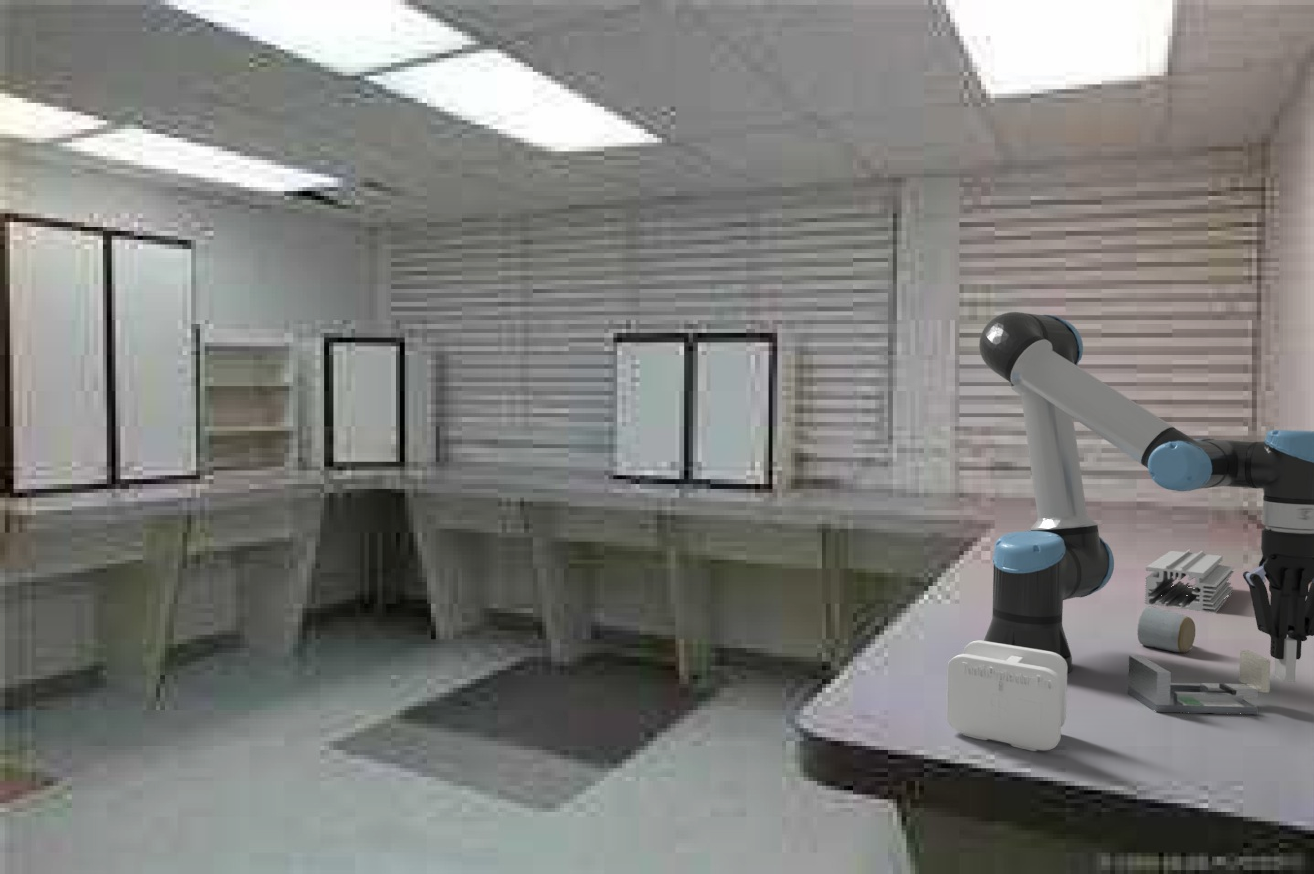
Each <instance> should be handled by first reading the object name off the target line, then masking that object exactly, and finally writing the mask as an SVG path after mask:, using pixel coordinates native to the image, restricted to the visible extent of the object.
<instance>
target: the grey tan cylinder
mask: <svg viewBox="0 0 1314 874" xmlns="http://www.w3.org/2000/svg"><path fill="white" fill-rule="evenodd" d="M1136 631H1137V633H1136V634H1137V639H1138V642H1139V644H1141V645H1143V646H1146V647H1150V648H1154V647H1155V648H1156V649H1160V650H1164V651H1165V650H1166V651H1169V652H1173V653H1179V654H1181V653H1182V654H1183V653H1188V651H1190V650H1191V648H1192V647H1193V644H1194V642H1195V638H1196V624H1195V622H1194V620H1193V618H1192V617H1190V616H1188V615H1184V614H1181V613H1178V612H1173V611H1169V610H1166V609H1162V608H1159V607H1153V606H1152V605H1148V606H1146V607H1144V609H1142V611H1141V613H1140V615H1139V619H1138V623H1137V630H1136ZM1155 648H1154V649H1155Z"/></svg>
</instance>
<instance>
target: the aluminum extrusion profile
mask: <svg viewBox="0 0 1314 874" xmlns="http://www.w3.org/2000/svg"><path fill="white" fill-rule="evenodd" d="M1190 551H1191V549H1187V550H1186V551H1176V550H1170V551H1168V552H1166V553H1165V554H1164V555H1161V556H1160V557H1159V558H1157V559H1156V560H1155V561H1153V562H1151V563H1150V564H1149V565H1147V566H1145V571H1147V572H1151V573H1150V574H1149V575H1147V576H1145V591H1144V592H1145V593H1144V597H1145V598H1144V599H1145V600H1144V604H1145V605H1148V606H1157V605H1158V606H1159V607H1164V606H1165V608H1171V607H1172V608H1173V609H1179V608H1180V609H1179V610H1186V609H1189V610H1188V611H1194V610H1195V611H1194V612H1201V613H1210V614H1216V613H1217V612H1218V611H1219V610H1220V608H1222V606H1223V605H1224V604H1223V603H1226V602H1227V600H1228V599H1227V597H1226V596H1227V595H1230V596H1231V595H1232V594H1233V593H1234V591H1233V589H1234V587H1233V586H1230V585H1232V583H1231V582H1228V581H1229V579H1230V578H1231V577H1232V575H1233V574H1234V572H1235V571H1234V568H1235V567H1234V566H1229V565H1223V564H1220V563H1221V562H1222V561H1223V556H1222V555H1217V554H1216V555H1215V554H1207V553H1205V552H1204V550H1200V551H1199V552H1190ZM1186 576H1188V578H1187V580H1188V581H1192V580H1193V579H1195V582H1194V585H1191V586H1192V588H1188V587H1187V586H1189V585H1190V582H1187V583H1186V584H1184V582H1182V581H1181V580H1183V579H1184V578H1185V577H1186ZM1177 579H1178V580H1179V581H1178V582H1176V583H1175V584H1174V582H1175V581H1176V580H1177ZM1173 584H1174V586H1172V585H1173ZM1171 586H1172V587H1171ZM1193 588H1195V589H1193ZM1230 591H1231V592H1230ZM1232 592H1233V593H1232ZM1231 593H1232V594H1231ZM1161 595H1162V596H1161ZM1186 595H1188V596H1186ZM1225 597H1226V598H1225ZM1224 598H1225V599H1224ZM1226 599H1227V600H1226ZM1221 605H1222V606H1221Z"/></svg>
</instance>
